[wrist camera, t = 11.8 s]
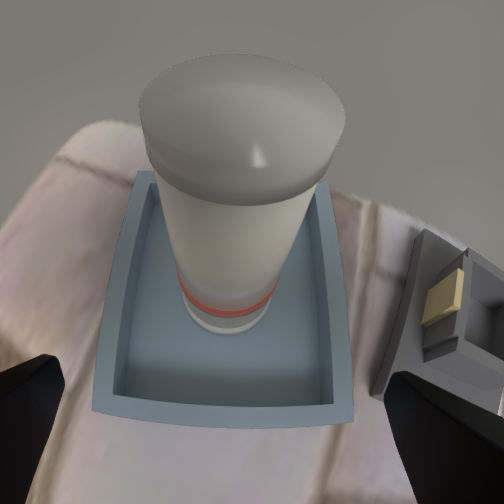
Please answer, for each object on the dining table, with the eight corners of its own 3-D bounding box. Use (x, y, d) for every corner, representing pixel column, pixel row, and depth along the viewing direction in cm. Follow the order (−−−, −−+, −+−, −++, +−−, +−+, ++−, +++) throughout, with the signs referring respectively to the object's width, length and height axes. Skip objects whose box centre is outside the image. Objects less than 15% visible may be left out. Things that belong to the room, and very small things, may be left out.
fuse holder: (477, 435, 13) (526, 429, 9) (369, 396, 15) (416, 387, 11) (500, 293, 19) (537, 268, 15) (414, 239, 21) (448, 201, 16)
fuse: (268, 338, 16) (366, 177, 5) (180, 333, 15) (109, 159, 5) (268, 259, 18) (326, 65, 7) (188, 255, 17) (165, 52, 7)
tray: (335, 421, 14) (353, 421, 12) (109, 411, 13) (91, 411, 11) (318, 206, 21) (328, 182, 19) (144, 196, 20) (138, 171, 18)
